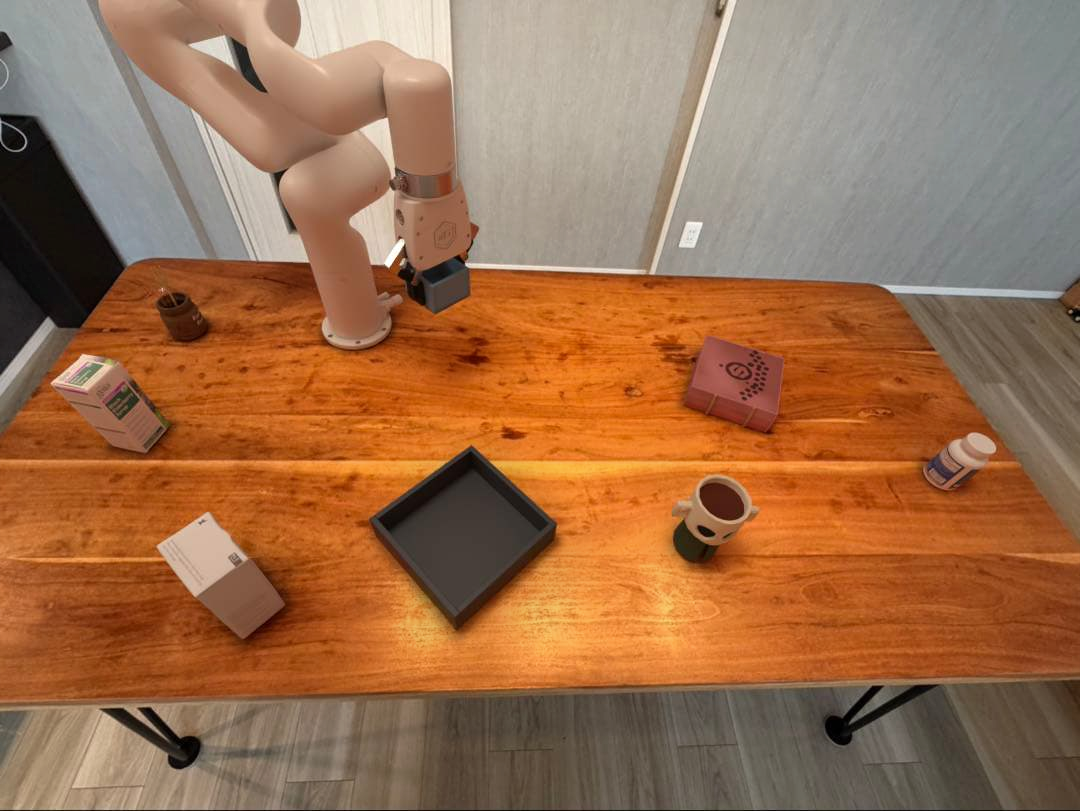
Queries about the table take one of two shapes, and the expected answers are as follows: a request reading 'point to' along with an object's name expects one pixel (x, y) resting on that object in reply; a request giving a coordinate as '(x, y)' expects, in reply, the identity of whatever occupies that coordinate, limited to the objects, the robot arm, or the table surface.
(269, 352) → the table surface
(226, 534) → the cosmetic box
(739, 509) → the character mug
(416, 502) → the large bin
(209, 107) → the robot arm
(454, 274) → the small bin
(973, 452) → the pill bottle
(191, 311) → the utensil holder
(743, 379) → the book
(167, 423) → the syrup box
